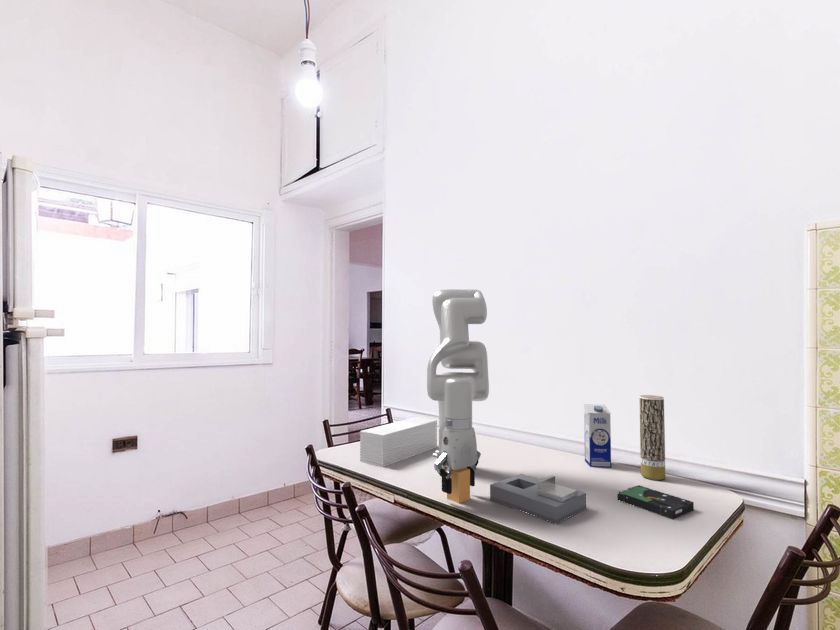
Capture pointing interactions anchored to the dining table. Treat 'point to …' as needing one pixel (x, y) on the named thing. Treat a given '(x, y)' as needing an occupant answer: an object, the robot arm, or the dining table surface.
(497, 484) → the socket block
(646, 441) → the paper tube
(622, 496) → the disk drive
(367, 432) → the stack of papers
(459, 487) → the plug
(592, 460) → the milk carton
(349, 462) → the dining table surface
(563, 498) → the plate
